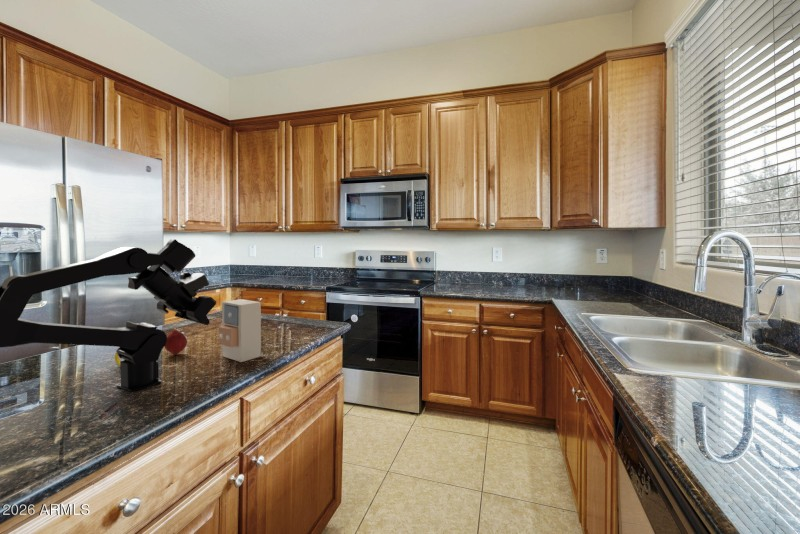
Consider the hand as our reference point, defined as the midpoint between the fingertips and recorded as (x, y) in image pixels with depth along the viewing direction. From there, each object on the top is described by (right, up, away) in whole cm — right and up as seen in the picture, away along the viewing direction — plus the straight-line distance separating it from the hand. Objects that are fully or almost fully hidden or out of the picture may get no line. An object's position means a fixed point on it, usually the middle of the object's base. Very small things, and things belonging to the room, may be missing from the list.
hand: (208, 323), depth 99 cm
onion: (-14, -11, +9) cm, 20 cm away
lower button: (+3, -7, +6) cm, 9 cm away
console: (+5, -11, +10) cm, 16 cm away
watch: (-21, -11, -1) cm, 24 cm away
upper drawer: (+4, -1, +7) cm, 8 cm away
